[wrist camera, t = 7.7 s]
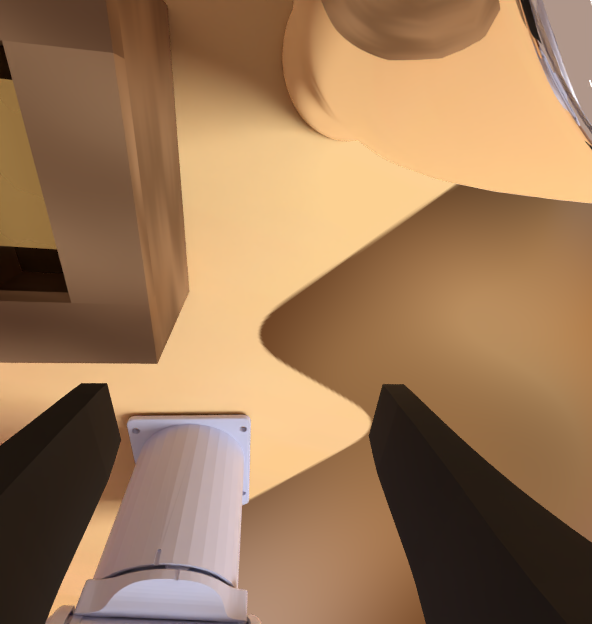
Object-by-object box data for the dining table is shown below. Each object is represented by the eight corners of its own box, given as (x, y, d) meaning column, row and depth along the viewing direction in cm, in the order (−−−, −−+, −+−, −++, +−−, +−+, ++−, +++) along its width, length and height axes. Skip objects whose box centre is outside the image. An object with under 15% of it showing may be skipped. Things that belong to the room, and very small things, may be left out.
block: (114, 217, 16) (61, 249, 12) (61, 213, 16) (-14, 244, 12) (96, 96, 14) (21, 80, 10) (33, 89, 14) (-74, 69, 9)
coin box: (189, 291, 18) (157, 363, 13) (10, 285, 17) (-113, 361, 12) (167, 5, 13) (92, -94, 7) (-101, -29, 12) (-440, -179, 6)
